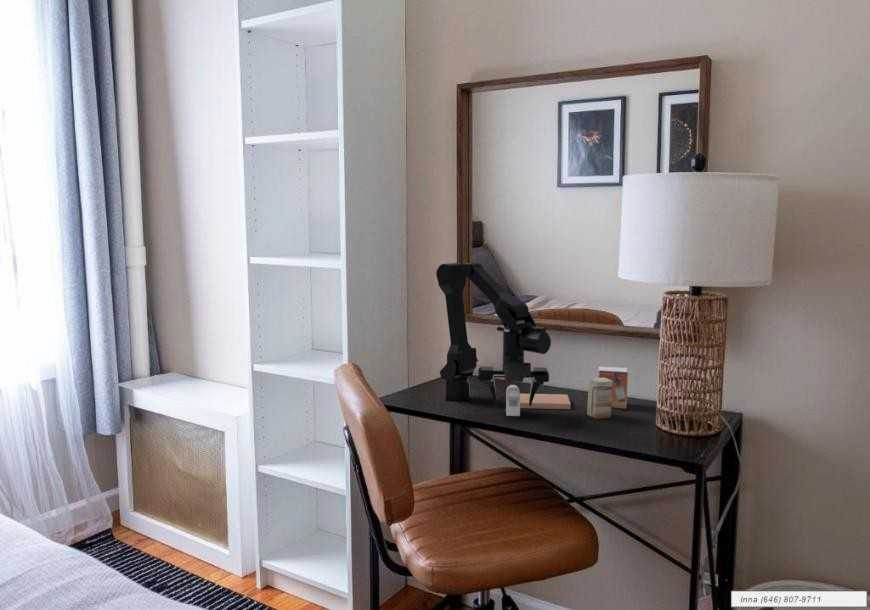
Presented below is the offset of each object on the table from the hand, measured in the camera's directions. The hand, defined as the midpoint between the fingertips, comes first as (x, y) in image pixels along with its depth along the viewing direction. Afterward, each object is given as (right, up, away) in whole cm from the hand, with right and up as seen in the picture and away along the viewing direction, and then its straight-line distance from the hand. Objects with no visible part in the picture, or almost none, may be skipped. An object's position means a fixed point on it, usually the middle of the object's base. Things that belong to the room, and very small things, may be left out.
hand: (512, 405), depth 195 cm
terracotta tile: (+9, -1, +10) cm, 13 cm away
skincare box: (+23, -3, -3) cm, 23 cm away
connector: (0, -2, 0) cm, 2 cm away
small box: (+29, -1, +8) cm, 30 cm away
